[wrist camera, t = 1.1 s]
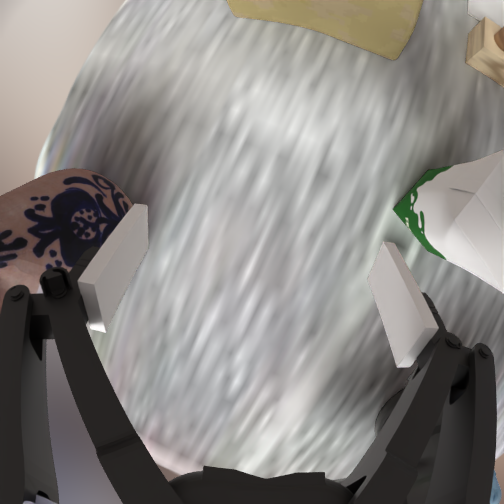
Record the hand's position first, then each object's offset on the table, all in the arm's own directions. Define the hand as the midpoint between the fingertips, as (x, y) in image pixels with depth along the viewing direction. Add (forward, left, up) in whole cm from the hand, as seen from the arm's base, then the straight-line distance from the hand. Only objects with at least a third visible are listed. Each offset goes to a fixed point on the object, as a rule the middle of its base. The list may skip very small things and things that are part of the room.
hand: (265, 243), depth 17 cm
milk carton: (-9, -15, -21) cm, 27 cm away
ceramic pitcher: (+13, +24, -21) cm, 34 cm away
